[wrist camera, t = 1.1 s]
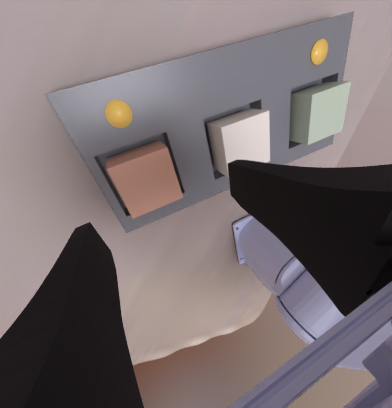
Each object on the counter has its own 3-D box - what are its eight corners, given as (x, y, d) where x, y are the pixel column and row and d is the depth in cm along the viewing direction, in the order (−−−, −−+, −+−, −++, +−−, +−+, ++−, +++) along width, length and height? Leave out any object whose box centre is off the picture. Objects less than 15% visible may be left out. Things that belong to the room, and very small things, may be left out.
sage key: (319, 127, 25) (341, 130, 23) (287, 139, 24) (307, 145, 22) (324, 82, 22) (351, 80, 20) (288, 94, 21) (312, 95, 19)
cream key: (252, 153, 23) (270, 160, 21) (215, 168, 22) (228, 178, 20) (249, 108, 20) (269, 110, 18) (206, 123, 19) (221, 127, 17)
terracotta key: (174, 185, 21) (183, 197, 19) (129, 203, 20) (132, 218, 18) (159, 139, 18) (167, 147, 16) (106, 158, 17) (106, 169, 15)
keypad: (316, 140, 28) (333, 144, 26) (124, 220, 23) (126, 234, 20) (329, 19, 21) (356, 10, 19) (52, 94, 15) (44, 94, 13)
